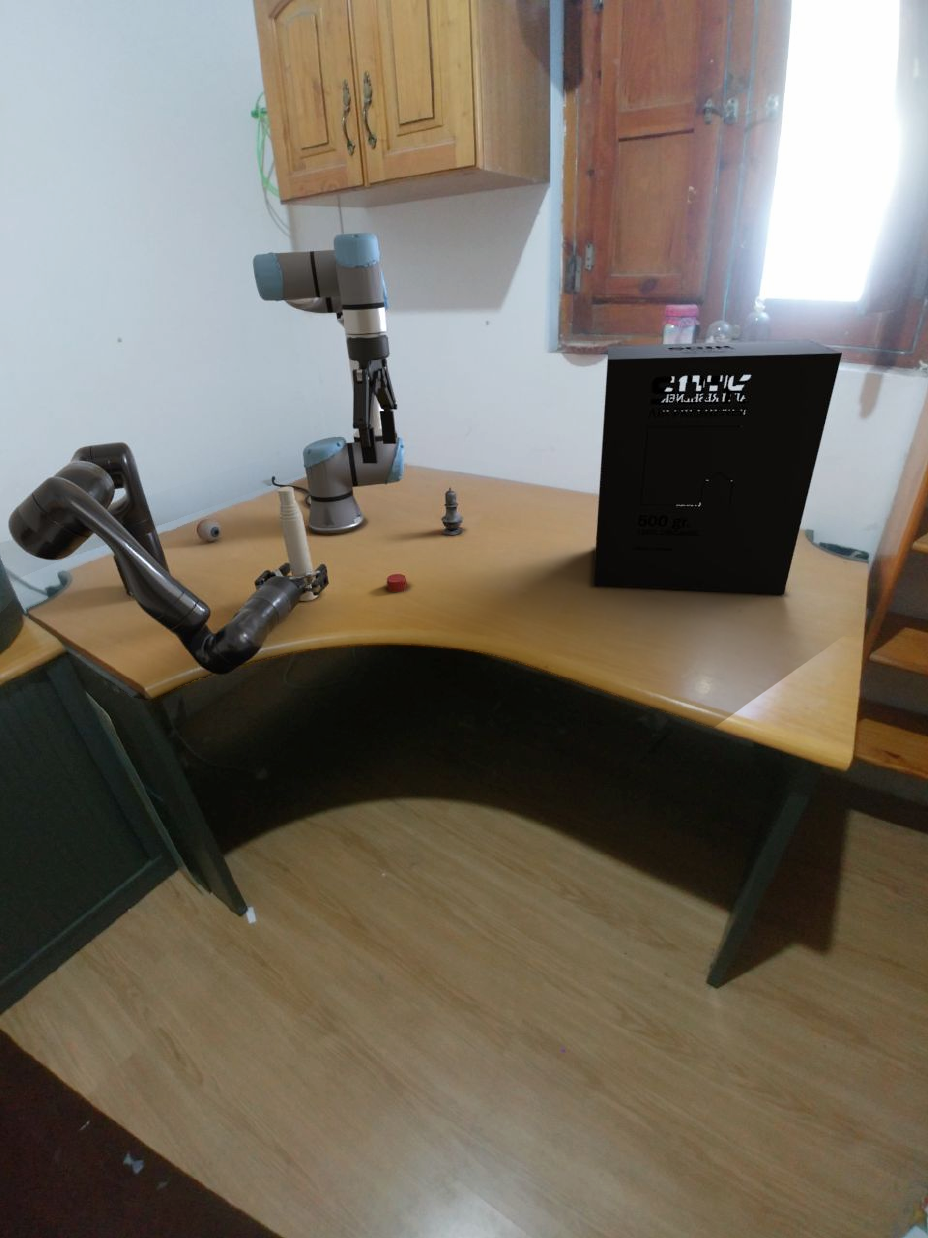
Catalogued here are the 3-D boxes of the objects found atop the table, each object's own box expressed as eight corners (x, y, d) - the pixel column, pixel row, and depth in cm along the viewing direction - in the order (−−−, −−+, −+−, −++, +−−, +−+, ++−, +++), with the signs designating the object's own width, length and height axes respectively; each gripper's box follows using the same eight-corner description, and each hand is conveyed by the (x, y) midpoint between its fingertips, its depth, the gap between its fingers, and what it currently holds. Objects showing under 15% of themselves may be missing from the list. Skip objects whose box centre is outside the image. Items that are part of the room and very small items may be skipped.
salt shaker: (461, 535, 158) (459, 491, 152) (439, 534, 159) (436, 490, 153) (465, 527, 163) (463, 483, 157) (444, 526, 164) (441, 483, 158)
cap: (386, 592, 132) (384, 582, 131) (389, 583, 136) (388, 573, 135) (405, 591, 132) (404, 582, 131) (408, 583, 136) (407, 573, 134)
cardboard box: (762, 553, 139) (808, 339, 116) (783, 594, 122) (842, 352, 99) (595, 547, 147) (608, 345, 124) (593, 585, 129) (608, 359, 107)
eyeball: (210, 546, 160) (204, 525, 157) (195, 542, 163) (189, 521, 160) (228, 538, 164) (223, 518, 161) (213, 535, 167) (208, 514, 164)
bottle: (307, 589, 135) (286, 483, 123) (322, 594, 133) (301, 486, 121) (292, 598, 132) (268, 490, 120) (307, 603, 130) (284, 493, 117)
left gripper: (302, 587, 114) (334, 552, 128) (234, 584, 117) (272, 550, 131) (309, 621, 118) (339, 583, 132) (243, 617, 120) (279, 581, 134)
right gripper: (367, 328, 119) (380, 436, 130) (321, 344, 99) (341, 472, 109) (404, 326, 118) (413, 436, 129) (365, 343, 97) (381, 472, 108)
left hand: (306, 567), depth 131 cm, fingers open, 8 cm apart
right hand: (380, 452), depth 119 cm, fingers open, 13 cm apart
